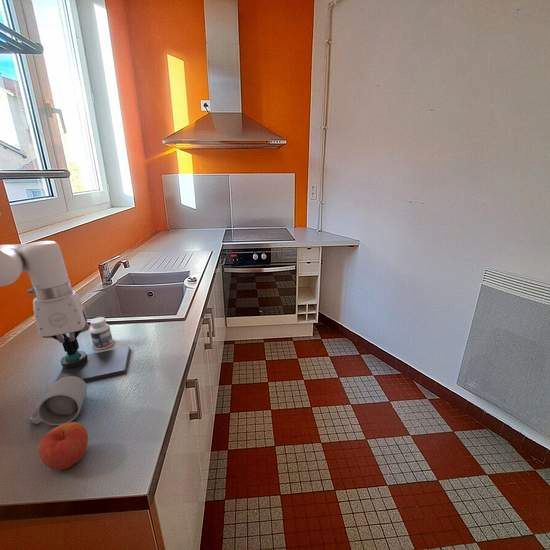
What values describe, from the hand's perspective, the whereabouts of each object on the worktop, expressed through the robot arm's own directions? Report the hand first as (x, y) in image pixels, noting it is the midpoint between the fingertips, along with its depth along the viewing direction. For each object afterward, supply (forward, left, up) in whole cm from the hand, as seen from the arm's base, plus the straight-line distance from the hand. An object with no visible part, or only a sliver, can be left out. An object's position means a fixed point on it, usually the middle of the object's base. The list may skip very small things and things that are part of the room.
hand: (73, 352), depth 82 cm
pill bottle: (+5, +9, -5) cm, 11 cm away
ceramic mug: (+1, -19, -5) cm, 20 cm away
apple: (+6, -33, -5) cm, 34 cm away
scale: (+5, -3, -5) cm, 8 cm away
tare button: (0, 0, -2) cm, 2 cm away
